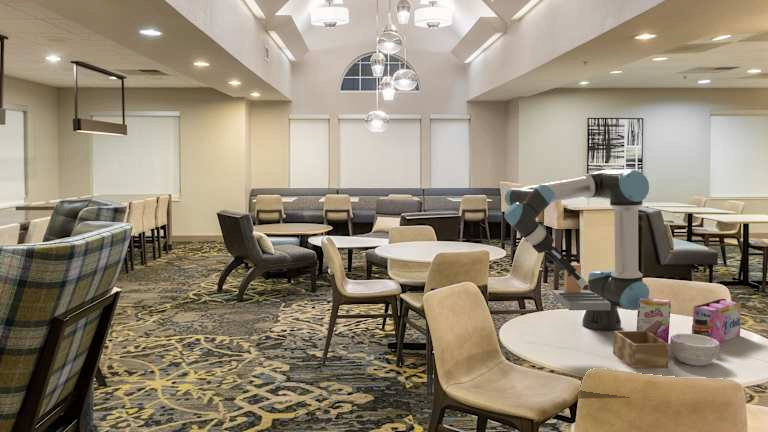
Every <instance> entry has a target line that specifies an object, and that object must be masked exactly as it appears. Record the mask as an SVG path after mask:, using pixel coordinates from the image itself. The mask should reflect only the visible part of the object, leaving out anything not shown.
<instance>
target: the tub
mask: <svg viewBox="0 0 768 432" xmlns="http://www.w3.org/2000/svg"><path fill="white" fill-rule="evenodd" d="M612 345H613V346H612V354H613V355H615V356H616V357H617V358H619V359H620V360H621V361H623V363H625V364H627V365H628V366H629V367H630V368H632V369H666V368H667V369H668V367H669V354H670V353H669V351H670V343H669V342H668V343H666V342H665V341H663V340H661V339H660V338H658V337H656V336H655V335H653V334H651V333H650V332H648V331H637V330H620V331H619V330H613V342H612Z"/></svg>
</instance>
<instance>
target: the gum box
mask: <svg viewBox="0 0 768 432" xmlns="http://www.w3.org/2000/svg"><path fill="white" fill-rule="evenodd" d="M741 305H742V302H741V301H737V302H735V301H730V300H727V299H726V298H719V299H716V300H712V301H709V302H705V303H701V304H698V305H695V306H693V311H692V312H693V313H692V314H693V317H692V324H693V323H695V318H696V317H703V318H707V324H708V325H709V326H710V338H713V339H715V340H717V341H718V342H719V343H720V344H721V343H723V342H726V341H729V340H731V339H734V338H737V337H740V336H741V317H742V316H741V314H742V313H741V312H742V311H741V309H742V308H741Z"/></svg>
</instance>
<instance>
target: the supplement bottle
mask: <svg viewBox="0 0 768 432" xmlns="http://www.w3.org/2000/svg"><path fill="white" fill-rule="evenodd" d="M691 334H696V335H702V336H706V337H710V326H709V325H708V324H707V318H703V317H696V318H695V323H693V322H692V324H691Z"/></svg>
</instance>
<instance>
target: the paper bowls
mask: <svg viewBox="0 0 768 432" xmlns="http://www.w3.org/2000/svg"><path fill="white" fill-rule="evenodd" d="M669 338H670V341H669V342H670V343H669V351H670V352H671V353H672V354H674V355H675V357H676V359H677V360H678V361H679V362H681V363H683V364H686V365H690V366H699V367H700V366H701V367H703V366H707V365H710V364H711V363H712V362H713V361H714V360H716V359H718V358H719V356H720V345H721V343H719V342H718V341H717V340H715V339H713V338H710V337H706V336H702V335H696V334H692V333H686V332H685V333H683V332H682V333H674V334H671V335H670V337H669Z"/></svg>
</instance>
